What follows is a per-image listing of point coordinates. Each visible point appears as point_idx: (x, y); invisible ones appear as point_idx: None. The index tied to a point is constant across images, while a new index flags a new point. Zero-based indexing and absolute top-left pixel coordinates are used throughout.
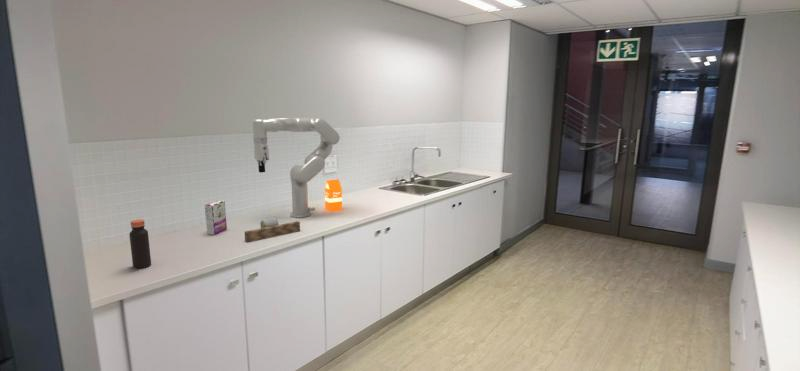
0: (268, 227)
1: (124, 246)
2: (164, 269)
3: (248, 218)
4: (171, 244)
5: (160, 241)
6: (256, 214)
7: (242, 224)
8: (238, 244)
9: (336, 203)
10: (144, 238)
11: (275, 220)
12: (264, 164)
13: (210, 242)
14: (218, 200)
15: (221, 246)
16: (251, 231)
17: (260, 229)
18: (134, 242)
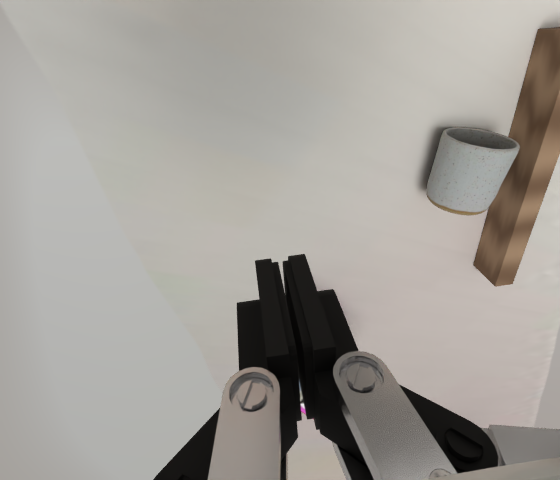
0: (531, 203)
1: (292, 461)
2: (495, 410)
3: (164, 172)
4: None
5: (303, 419)
6: (84, 104)
7: (263, 223)
8: (485, 286)
9: None
10: None
11: (514, 157)
12: (405, 389)
13: (403, 339)
14: (303, 404)
15: (460, 322)
16: (515, 268)
17: (524, 236)
18: None
